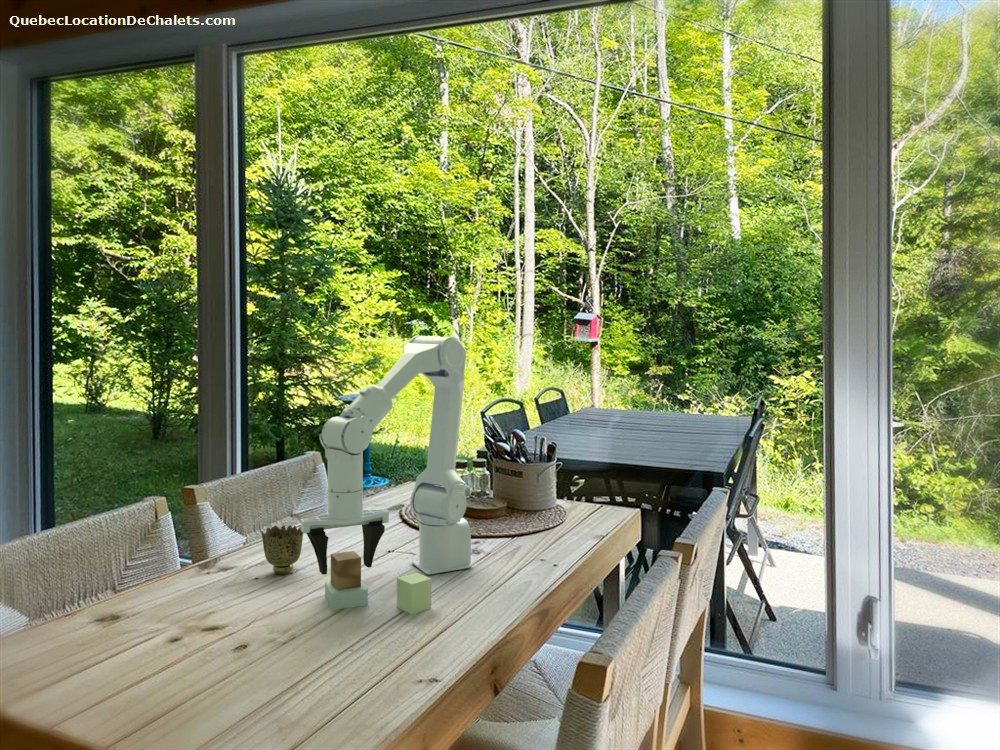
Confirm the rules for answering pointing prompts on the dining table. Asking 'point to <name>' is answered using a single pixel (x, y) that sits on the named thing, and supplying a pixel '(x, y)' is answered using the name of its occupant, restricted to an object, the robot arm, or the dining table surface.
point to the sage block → (413, 593)
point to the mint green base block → (346, 596)
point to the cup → (282, 547)
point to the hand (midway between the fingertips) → (345, 569)
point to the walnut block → (345, 570)
